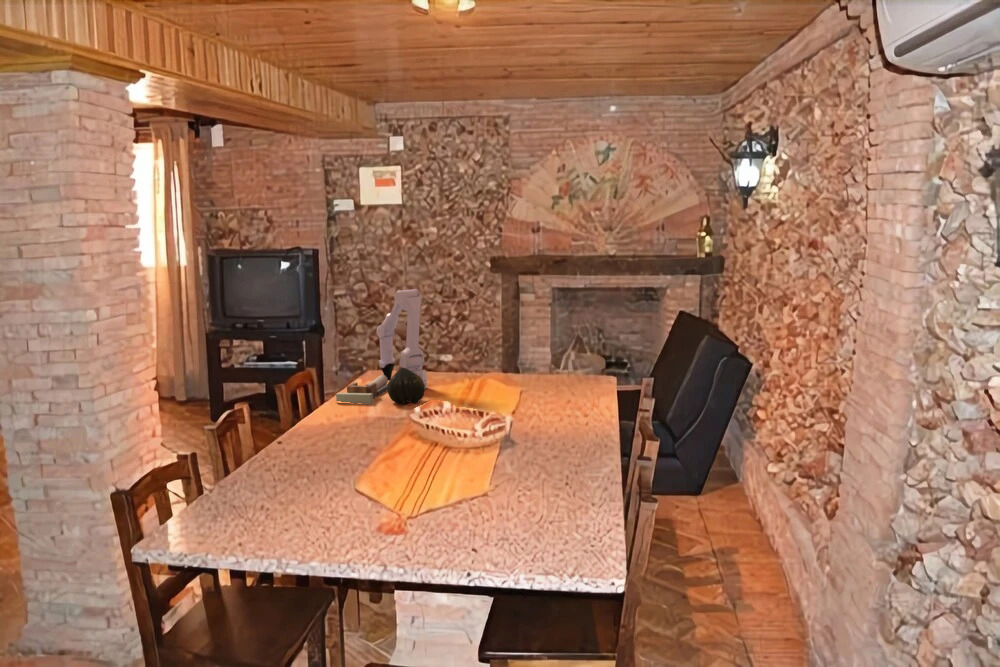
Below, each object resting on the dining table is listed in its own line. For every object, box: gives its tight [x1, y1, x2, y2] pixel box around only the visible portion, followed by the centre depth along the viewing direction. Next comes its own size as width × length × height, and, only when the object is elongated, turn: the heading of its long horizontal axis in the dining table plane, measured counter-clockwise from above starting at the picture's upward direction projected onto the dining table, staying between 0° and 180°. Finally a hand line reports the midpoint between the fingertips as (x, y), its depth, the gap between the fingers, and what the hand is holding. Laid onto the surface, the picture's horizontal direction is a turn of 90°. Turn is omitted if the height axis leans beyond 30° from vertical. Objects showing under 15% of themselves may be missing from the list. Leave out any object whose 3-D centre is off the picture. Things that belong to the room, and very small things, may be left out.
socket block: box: [346, 382, 378, 400], centre depth 323 cm, size 10×8×6 cm
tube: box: [365, 374, 389, 390], centre depth 340 cm, size 5×5×25 cm
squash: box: [387, 367, 426, 405], centre depth 314 cm, size 14×15×15 cm
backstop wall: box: [335, 392, 374, 405], centre depth 315 cm, size 15×2×4 cm, turn 78°
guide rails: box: [364, 381, 388, 397], centre depth 340 cm, size 10×24×2 cm, turn 168°
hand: (388, 380), depth 354 cm, fingers closed
